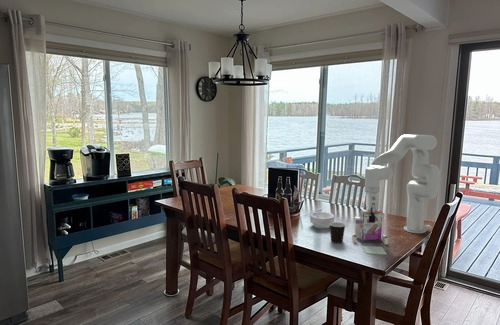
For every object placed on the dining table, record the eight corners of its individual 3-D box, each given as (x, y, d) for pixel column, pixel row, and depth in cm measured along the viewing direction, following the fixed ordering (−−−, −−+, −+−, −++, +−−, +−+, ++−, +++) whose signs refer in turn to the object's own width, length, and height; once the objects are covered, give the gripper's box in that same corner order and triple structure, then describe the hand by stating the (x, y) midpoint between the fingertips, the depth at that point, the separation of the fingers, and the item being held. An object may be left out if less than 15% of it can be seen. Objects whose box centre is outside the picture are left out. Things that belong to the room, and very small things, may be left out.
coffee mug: (333, 237, 200) (333, 221, 199) (347, 240, 195) (347, 224, 193) (324, 243, 191) (324, 226, 190) (338, 246, 186) (338, 229, 184)
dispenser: (382, 237, 200) (383, 217, 198) (387, 244, 189) (388, 223, 187) (350, 236, 203) (350, 216, 201) (353, 242, 191) (353, 222, 190)
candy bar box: (362, 240, 189) (363, 211, 187) (359, 237, 194) (359, 209, 192) (381, 239, 190) (382, 211, 188) (378, 236, 195) (378, 208, 193)
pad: (381, 247, 184) (382, 246, 184) (386, 254, 174) (386, 253, 174) (362, 247, 185) (362, 246, 185) (366, 253, 176) (366, 252, 176)
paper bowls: (332, 231, 212) (332, 219, 211) (308, 228, 216) (308, 216, 215) (334, 224, 226) (335, 212, 225) (311, 222, 231) (312, 210, 230)
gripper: (382, 192, 179) (381, 225, 182) (375, 186, 196) (374, 216, 198) (367, 192, 180) (366, 225, 183) (362, 186, 197) (361, 216, 200)
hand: (370, 220), depth 191 cm, fingers closed on candy bar box, 5 cm apart
